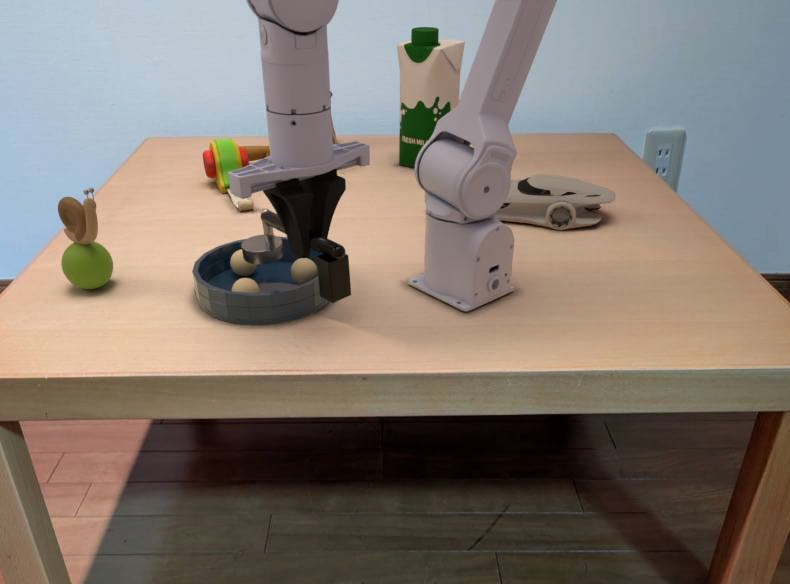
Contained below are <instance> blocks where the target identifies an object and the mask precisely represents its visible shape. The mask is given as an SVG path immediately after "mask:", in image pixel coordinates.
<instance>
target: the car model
mask: <svg viewBox="0 0 790 584" xmlns="http://www.w3.org/2000/svg"><path fill="white" fill-rule="evenodd" d="M616 198H617V195H616V192H615V191H613V190H612V189H610V188H608V187H604V186H602V185H598V184H596V183H592V182H588V181H585V180H582V179H578V178H575V177H570V176H564V175H557V174H549V173H536V174H533V175H531V176H529V177H527V178H524V179H511V184H510V190H509V193H508V196H507V198H506V200H505V202H504V203H503V205H502V206H501V207H500V208H499V209H498V211H496V217H497V218H498V219H499V220H500V221H501V222H514V223H524V224H530V225H535V226H540V227H541V226H542V227H547V228H550V229H553V230H558V231H564V230H570V229H576V228H583V227H589V226H591V227H592V226H595V225H597V224H599V222H600V221H601V220H602V218H603V215H601V214H598V213H594V212H593V211H598V210H601V208H602V206H601V205H605V204H610V203H612V202H614V201H615V200H616Z"/></svg>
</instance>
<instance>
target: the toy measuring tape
mask: <svg viewBox="0 0 790 584" xmlns="http://www.w3.org/2000/svg"><path fill="white" fill-rule="evenodd" d="M238 146H239V145H238V142H237V140H235V139H232V138H231V137H229V138H228V137H227V138H217V139H213V141H211V142H210V143H209V149H206V150H204V151H203V152H202V162H203V163H202V164H203V168H204V172H205V175H206V177H207V178H208V179H214V181H215V183H216V185H217V187H218V189H219V191H220V192H221V193H222V194H226V193H228V195H229V196H230V199H231V202H232V204H233V205H234V206H235V208H236V209H238V211H239V212H242V211H249V210H253V209H254V207H255V206H254V205H255V204H254V200H253V199H248V198H245V199H241V198H239V197H237V196H235V195H233V194H231V192H230V185H229V177H228V172H231V171H234V170H238V169H241V168H243V167H246V166H248V165H250V161H248V156H247V152H246V150H245V149H244V148H243V147H238Z"/></svg>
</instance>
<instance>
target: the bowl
mask: <svg viewBox="0 0 790 584" xmlns="http://www.w3.org/2000/svg"><path fill="white" fill-rule="evenodd" d="M278 237H279V238H281V240H282V245H283V252H284V254H283V256H282V258H280V259H279V260H277V261H275V262H272V263H268V264H257V266H256V269H255V271H254V272H253V273H252V274H250V275H248V276H240V275H238V274H236V273H235V272H234V271H233V270H232V268H231V265H230V260H231V257H232V255H233V254H234V253H235V252H236V251H238V250H241V249H242V247H241V244H242V242H243V241H244V240H246V239H247V238H243V239H237V240H233V241H230V242H227V243H224V244H220V245H217V246H216V247H213V248H211V249H210V250H208V251H206V252H204V253H203V254H202V255H201V256H200V257H198V259H196V260H195V261H194V264H193V267H192V271H191V273H192V274H191V275H192V279H193V285H194V291H195V296H196V299H197V302H198V306H199V307H200V308H201V309H202V311H204V312H205V313H206V314H207V315H209V316H211V317H212V318H215V319H217V320H220V321H222V322H227V323H231V324H237V325H244V326H245V325H246V326H265V325H266V326H267V325H277V324H282V323H289V322H291V321H295V320H296V321H297V320H299V319H302V318H305V317H307V316H310V315H313V314H314V313H316V312H318V311H319V310H321V309H322V308H324V307H325V306H326V305H327V304H329V303H330V302H329V301H327V300H326V299H324V298H322V297H321V296H320V289H319V279H318V273H317V277H316V278H314V279H313V280H311V281H309V282H307V283H304V284H301V285H300V284H298V283H296V282H295V281H294V280H293V278H292V276H291V267H292V265H293V263H294V262H295V261H296V260H298V259H300V258H301V257H299V256H297V255H295V254H293V253H292V251H291V247H290V244H289V241H288V238H287V236H278ZM322 254H324V253H318V252H316V251H314V250H313V249H311V248H310V254H309V257H307V259H310V260H312V261H313V262H314V263H315V265H316V267H317V260H316V257H317V256H319V255H322ZM317 271H318V270H317ZM241 278H250V279H252V280H254V281H255V282H256V283H257V284H258V286H259V288H260V292H257V293H245V292H235V291H232V287H233V285H234V283H235V282H236V281H237V280H239V279H241Z"/></svg>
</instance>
